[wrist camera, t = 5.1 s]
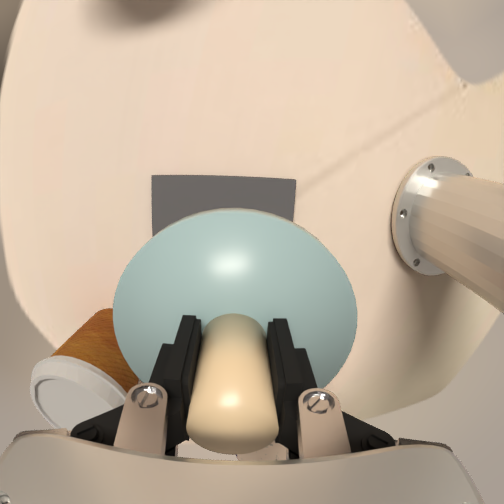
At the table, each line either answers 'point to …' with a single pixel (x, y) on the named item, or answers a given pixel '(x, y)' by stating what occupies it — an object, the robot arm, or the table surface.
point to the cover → (235, 315)
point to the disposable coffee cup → (83, 375)
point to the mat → (218, 196)
